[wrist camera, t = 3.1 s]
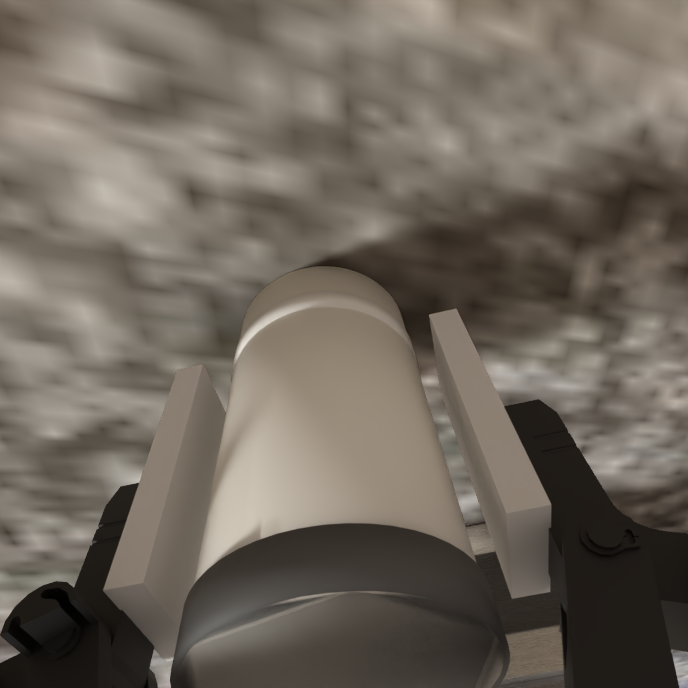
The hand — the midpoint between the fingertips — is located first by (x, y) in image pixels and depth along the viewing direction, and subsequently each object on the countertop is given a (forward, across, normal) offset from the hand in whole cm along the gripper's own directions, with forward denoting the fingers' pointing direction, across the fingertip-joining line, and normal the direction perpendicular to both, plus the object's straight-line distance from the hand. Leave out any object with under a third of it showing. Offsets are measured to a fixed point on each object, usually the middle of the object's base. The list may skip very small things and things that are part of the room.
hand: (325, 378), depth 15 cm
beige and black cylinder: (+2, 0, 0) cm, 2 cm away
